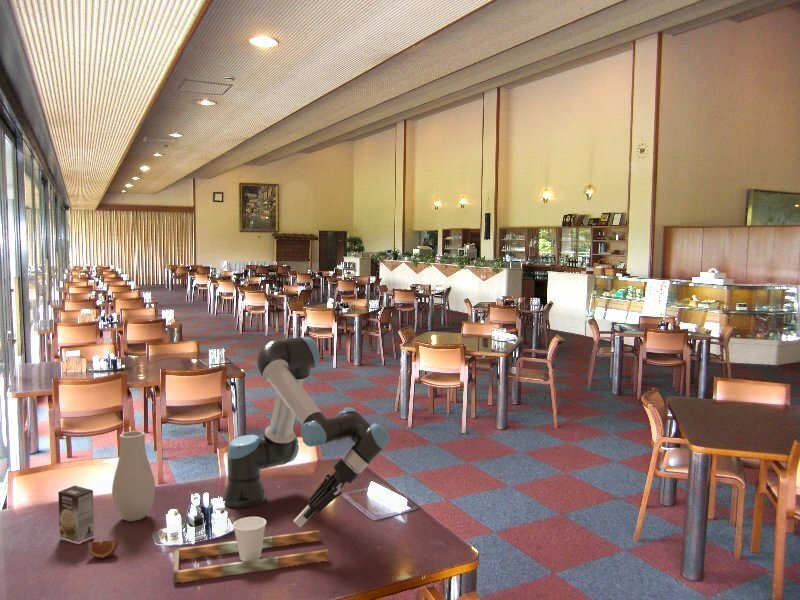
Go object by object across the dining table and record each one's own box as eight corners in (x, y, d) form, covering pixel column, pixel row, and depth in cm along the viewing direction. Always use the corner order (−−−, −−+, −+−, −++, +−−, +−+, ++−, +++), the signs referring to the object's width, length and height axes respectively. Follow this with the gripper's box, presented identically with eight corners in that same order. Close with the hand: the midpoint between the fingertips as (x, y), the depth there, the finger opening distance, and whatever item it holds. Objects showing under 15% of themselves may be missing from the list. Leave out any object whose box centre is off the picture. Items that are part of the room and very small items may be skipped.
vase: (104, 522, 222) (101, 437, 220) (134, 508, 235) (131, 426, 232) (135, 529, 217) (132, 441, 214) (164, 514, 229) (162, 430, 227)
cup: (256, 568, 190) (255, 532, 190) (227, 563, 194) (226, 527, 193) (273, 553, 200) (272, 518, 199) (245, 548, 203) (244, 514, 202)
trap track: (318, 539, 210) (318, 530, 210) (328, 560, 195) (328, 551, 195) (175, 558, 196) (174, 548, 196) (173, 583, 182) (173, 573, 182)
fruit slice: (85, 562, 194) (84, 546, 194) (92, 552, 201) (91, 536, 200) (114, 560, 195) (114, 544, 195) (120, 550, 202) (120, 534, 201)
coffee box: (58, 540, 209) (56, 491, 207) (76, 532, 214) (74, 485, 213) (78, 545, 205) (76, 496, 204) (95, 537, 211) (94, 489, 209)
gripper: (363, 481, 197) (309, 540, 194) (353, 466, 210) (302, 522, 206) (346, 465, 195) (291, 525, 192) (337, 452, 208) (285, 508, 204)
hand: (297, 524), depth 199 cm, fingers closed
